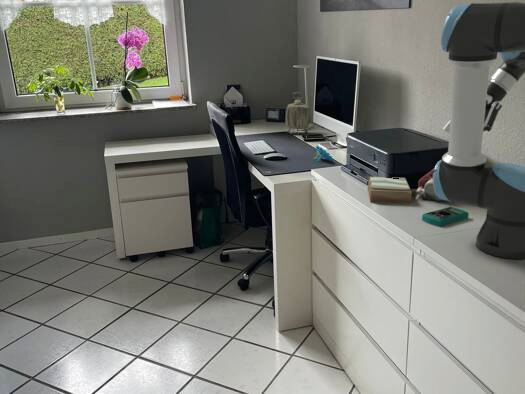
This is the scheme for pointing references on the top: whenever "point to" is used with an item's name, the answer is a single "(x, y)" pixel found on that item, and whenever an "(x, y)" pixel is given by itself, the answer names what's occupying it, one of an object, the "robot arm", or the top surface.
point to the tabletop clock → (297, 115)
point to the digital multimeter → (445, 216)
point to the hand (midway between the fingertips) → (455, 137)
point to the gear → (322, 154)
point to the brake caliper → (427, 188)
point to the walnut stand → (389, 190)
